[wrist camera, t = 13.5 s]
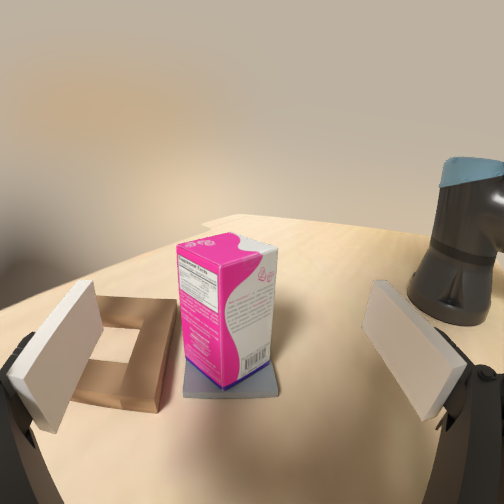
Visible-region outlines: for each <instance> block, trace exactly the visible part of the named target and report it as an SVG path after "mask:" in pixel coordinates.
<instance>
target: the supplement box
mask: <svg viewBox="0 0 504 504" xmlns="http://www.w3.org/2000/svg"><path fill="white" fill-rule="evenodd" d="M176 248H177V267H178V283H179V296H180V308H181V320H182V330H183V340H184V349H185V358H186V359H187V360H188V361H189V362H190V363H191V364H192V365H193V366H195V367H196V368H197V369H198V370H199V371H200V372H201V373H202V374H204V375H205V376H206V377H207V378H208V379H209V380H211V381H212V382H213V383H214V384H215V385H216V386H218V387H219V388H220V389H221V390H222V391H226V390H228V389H229V388H231V387H233V386H234V385H236V384H238V383H239V382H241V381H243V380H244V379H246V378H248V377H249V376H251V375H252V374H254V373H256V372H257V371H259V370H260V369H262V368H264V367H265V366H267V365H268V364H269V358H270V347H271V335H272V323H273V310H274V298H275V284H276V271H277V256H278V248H277V247H275V246H272V245H269V244H266V243H262V242H259V241H256V240H253V239H250V238H247V237H244V236H241V235H238V234H235V233H232V232H228V233H224V234H220V235H215V236H211V237H207V238H203V239H198V240H194V241H190V242H186V243H182V244H178V245H177V246H176Z"/></svg>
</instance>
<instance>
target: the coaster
mask: <svg viewBox="0 0 504 504" xmlns="http://www.w3.org/2000/svg"><path fill="white" fill-rule="evenodd" d="M278 391H279V390H278V386H277V382H276V378H275V374H274V369H273V365H272V361H271V357H270V358H269V364H268V365H267V366H265V367H264V368H262V369H260V370H259V371H257V372H256V373H254V374H252V375H251V376H249V377H248V378H246V379H244V380H243V381H241V382H239V383H238V384H236V385H234V386H233V387H231V388H229V389H228V390H226V391H222V390H221V389H220V388H219V387H218V386H216V385H215V384H214V383H213V382H212V381H211V380H209V379H208V378H207V377H206V376H205V375H204V374H202V373H201V372H200V371H199V370H198V369H197V368H196V367H195V366H193V365H192V364H191V363H190V362H189V361H188V360H187V359H186V366H185V375H184V384H183V397H184V398H264V397H278Z"/></svg>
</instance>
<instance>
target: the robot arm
mask: <svg viewBox="0 0 504 504" xmlns="http://www.w3.org/2000/svg"><path fill="white" fill-rule="evenodd" d="M439 188H440V192H439V199H438V205H437V210H436V216H435V221H434V226H433V231H432V236H431V240H430V245H429V248H428V250H427V252H426V254H425V256H424V258H423V260H422V261H421V263H420V266H419V268H418V269H417V271H416V272H415V273H414V274H413V275H412V277H411V280H410V283H409V287H408V291H407V293H408V296H409V298H410V300H411V301H412V302H413V303H414V304H415V305H416V306H417V307H418V308H419V309H421V310H422V311H424V312H425V313H427V314H429V315H430V316H432V317H434V318H437V319H439V320H442V321H444V322H447V323H451V324H455V325H461V326H474V325H478V324H481V323H482V322H484V321H485V319H486V317H487V314H488V312H489V309H490V306H491V292H492V273H493V266H494V263H495V259H496V255H497V252H502V253H504V162H501V161H497V160H491V159H484V158H474V157H453V158H449V159H448V160H447V161H446V162H445V163H444V166H443V171H442V177H441V183H440V184H439ZM361 328H362V329H363V331H364V332H365V334H366V335H367V337H368V338H369V340H370V341H371V343H372V344H373V346H374V347H375V349H376V350H377V352H378V353H379V355H380V356H381V358H382V359H383V361H384V362H385V364H386V365H387V367H388V368H389V370H390V371H391V373H392V374H393V376H394V377H395V379H396V381H397V382H398V384H399V385H400V387H401V388H402V390H403V392H404V393H405V395H406V396H407V398H408V399H409V401H410V403H411V404H412V406H413V407H414V409H415V411H416V412H417V414H418V416H419V417H420V419H421V420H422V421H425V420H428V419H430V418H433V417H436V416H437V415H438V413H439V412H440V410H441V409H442V407H443V406H444V407H445V409H446V410H447V412H446V413H445V415H444V416H443V418H442V419H441V421H440V422H439V424H438V425H437V427H436V429H435V430H438V429H439V427H440V426H441V425H442V428H441V434H440V439H439V443H438V448H437V452H436V457H435V461H434V465H433V469H432V472H431V476H430V480H429V483H428V486H427V490H426V493H425V496H424V499H423V502H422V504H504V374H497V373H496V372H495V371H494V370H493V369H492V368H491V367H489V366H486V365H481V364H479V365H474V364H473V363H472V362H471V361H470V359H469V358H468V357H467V356H466V355H465V354H464V353H463V352H462V351H461V350H460V349H459V348H458V347H456V344H455V343H454V342H453V341H451V339H450V338H449V337H448V336H447V335H446V334H445V333H444V332H442V331H441V330H439V329H438V328H436V327H433V326H432V325H431V324H430V323H429V322H428V321H427V320H426V319H425V318H424V317H423V316H422V315H421V314H420V313H419V312H418V311H417V310H416V309H415V308H414V307H413V306H412V305H411V304H410V303H409V302H408V301H407V300H406V299H405V298H404V297H403V296H402V295H401V294H400V293H399V292H398V291H397V290H396V289H395V288H394V287H393V286H392V285H391V284H390V283H389V282H388V281H387V280H375V281H373V283H372V288H371V292H370V296H369V300H368V304H367V308H366V312H365V316H364V320H363V324H362V327H361ZM103 330H104V329H103V325H102V321H101V317H100V313H99V308H98V303H97V299H96V294H95V289H94V284H93V280H78V281H77V282H76V284H75V285H74V286H73V287H72V288H71V289H70V291H69V292H68V293H67V294H66V295H65V297H64V298H63V299H62V300H61V301H60V303H59V304H58V305H57V306H56V308H55V309H54V310H53V311H52V312H51V314H50V315H49V316H48V318H47V319H46V320H45V321H44V323H43V324H42V325H41V326H40V328H39V329H38V330H37V332H31V333H30V334H29V335H27V336H26V337H24V338H23V339H22V341H21V342H20V343H19V345H18V346H17V348H16V349H15V350H14V351H13V354H12V355H11V356H10V357H9V358H8V360H7V361H6V362H5V364H4V365H3V367H2V368H1V370H0V504H64V502H63V500H62V498H61V496H60V494H59V492H58V490H57V488H56V486H55V484H54V482H53V480H52V478H51V475H50V473H49V471H48V469H47V466H46V464H45V462H44V459H43V457H42V454H41V452H40V449H39V447H38V444H37V441H36V439H35V436H34V433H33V431H32V429H31V428H30V424H31V422H32V420H33V421H34V422H35V423H36V425H37V426H38V428H39V429H40V430H43V431H47V432H50V433H53V434H56V433H57V431H58V428H59V426H60V423H61V421H62V418H63V416H64V413H65V411H66V409H67V406H68V404H69V402H70V399H71V397H72V395H73V393H74V390H75V388H76V386H77V384H78V381H79V379H80V377H81V375H82V373H83V371H84V368H85V366H86V364H87V362H88V360H89V358H90V356H91V354H92V352H93V350H94V348H95V346H96V344H97V342H98V340H99V338H100V336H101V334H102V332H103Z"/></svg>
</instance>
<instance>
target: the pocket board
mask: <svg viewBox="0 0 504 504" xmlns="http://www.w3.org/2000/svg"><path fill="white" fill-rule="evenodd" d="M96 299H97V303H98V308H99V313H100V317H101V321H102V325H103V326H106V327H118V328H131V329H140V332H139V335H138V338H137V340H136V343H135V346H134V349H133V352H132V354H131V357H130V360H129V363H128V364H127V363H117V362H108V361H100V360H92V359H89V360H88V362H87V364H86V366H85V368H84V371H83V373H82V375H81V377H80V379H79V381H78V384H77V386H76V388H75V390H74V393H73V395H72V397H71V399H70V401H75V402H80V403H85V404H90V405H96V406H102V407H108V408H115V409H122V410H130V411H139V412H148V413H158V408H159V402H160V396H161V390H162V385H163V380H164V374H165V369H166V364H167V359H168V354H169V349H170V344H171V339H172V334H173V329H174V325H175V320H176V316H177V301H176V299H151V298H130V297H112V296H96Z"/></svg>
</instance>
